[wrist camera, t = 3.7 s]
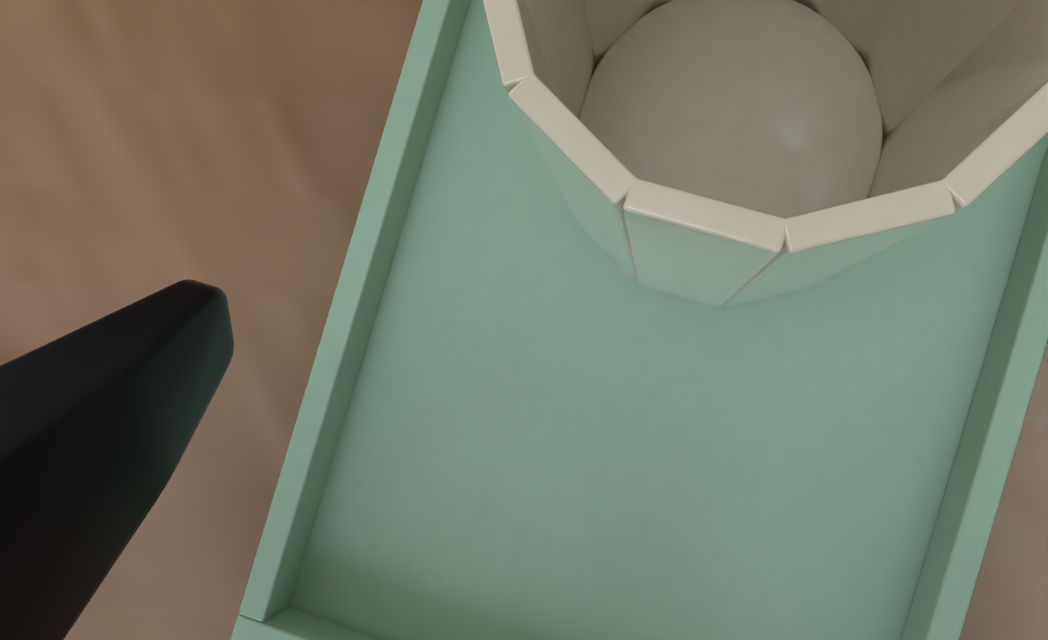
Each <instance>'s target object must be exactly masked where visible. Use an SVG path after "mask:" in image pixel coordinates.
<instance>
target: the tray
mask: <svg viewBox="0 0 1048 640" xmlns="http://www.w3.org/2000/svg"><path fill="white" fill-rule="evenodd" d="M1047 341H1048V133H1047V134H1046V135H1045V136H1044V137H1042V138H1041V139H1040V140H1039V141H1038V142H1037V143H1036V144H1035V145H1034V146H1033V147H1032V148H1031V149H1029V150H1028V151H1027V152H1026V153H1025V154H1024V155H1023V156H1022V157H1021V158H1020V159H1019V160H1018V161H1016V162H1015V163H1014V164H1013V165H1012V166H1011V167H1010V168H1009V169H1008V170H1007V171H1006V172H1005V173H1003V174H1002V175H1001V176H1000V177H999V178H998V179H997V180H996V181H995V182H994V183H993V184H991V185H990V186H989V187H988V188H987V189H986V190H985V191H984V192H983V193H982V194H981V195H980V196H978V197H977V198H976V199H975V200H974V201H973V202H972V203H971V204H970V205H969V206H968V207H966V208H964V209H962V210H960V211H958V212H956V213H954V214H952V215H950V216H949V217H947V218H945V219H943V220H941V221H939V222H937V223H935V224H933V225H931V226H929V227H927V228H925V229H923V230H921V231H919V232H917V233H915V234H913V235H911V236H909V237H907V238H905V239H903V240H901V241H899V242H897V243H895V244H893V245H891V246H889V247H887V248H885V249H883V250H881V251H879V252H877V253H875V254H873V255H871V256H869V257H867V258H865V259H863V260H861V261H859V262H857V263H855V264H853V265H851V266H849V267H847V268H845V269H843V270H841V271H839V272H837V273H835V274H834V275H832V276H830V277H828V278H826V279H824V280H822V281H820V282H818V283H816V284H814V285H812V286H810V287H808V288H806V289H803V290H799V291H794V292H790V293H786V294H782V295H778V296H773V297H769V298H765V299H761V300H756V301H752V302H748V303H744V304H740V305H735V306H731V307H727V308H723V306H722V305H721V306H720V307H718V308H716V307H713V306H709V305H706V304H702V303H699V302H695V301H692V300H688V299H685V298H682V297H678V296H675V295H671V294H668V293H664V292H661V291H657V290H654V289H650V288H647V287H643V286H640V285H639V282H638V281H636V282H634V281H632V280H631V278H630V277H629V276H628V275H627V274H626V273H625V272H624V271H623V270H622V269H621V268H620V267H619V266H618V265H617V264H616V263H615V262H614V261H613V260H612V259H611V258H610V257H609V256H608V255H607V254H606V252H605V251H604V250H603V249H602V248H601V247H600V246H599V245H598V244H597V243H596V242H595V241H594V240H593V239H592V238H591V237H590V236H589V235H588V234H587V233H586V232H585V231H584V230H583V229H582V228H581V226H580V225H579V223H578V222H577V220H576V218H575V216H574V214H573V212H572V211H571V209H570V207H569V205H568V203H567V202H566V200H565V198H564V196H563V194H562V192H561V191H560V189H559V187H558V185H557V183H556V182H555V180H554V178H553V176H552V174H551V172H550V171H549V169H548V167H547V165H546V163H545V162H544V160H543V158H542V156H541V154H540V152H539V151H538V149H537V147H536V145H535V143H534V142H533V140H532V138H531V136H530V134H529V132H528V131H527V129H526V127H525V125H524V123H523V122H522V120H521V118H520V116H519V114H518V112H517V111H516V109H515V107H514V105H513V103H512V102H511V100H510V98H509V96H508V94H507V92H506V90H505V89H504V87H503V85H502V82H501V77H500V73H499V69H498V65H497V60H496V56H495V52H494V48H493V43H492V39H491V35H490V31H489V26H488V22H487V18H486V13H485V9H484V5H483V1H482V0H423V2H422V5H421V8H420V12H419V15H418V18H417V21H416V25H415V28H414V31H413V35H412V38H411V41H410V45H409V48H408V51H407V55H406V58H405V61H404V65H403V68H402V71H401V75H400V78H399V81H398V85H397V88H396V91H395V95H394V98H393V101H392V105H391V108H390V111H389V115H388V118H387V121H386V124H385V128H384V131H383V134H382V138H381V141H380V144H379V148H378V151H377V154H376V158H375V161H374V164H373V168H372V171H371V174H370V178H369V181H368V184H367V188H366V191H365V194H364V198H363V201H362V204H361V208H360V211H359V214H358V217H357V221H356V224H355V227H354V231H353V234H352V237H351V241H350V244H349V247H348V251H347V254H346V257H345V261H344V264H343V267H342V271H341V274H340V277H339V281H338V284H337V287H336V291H335V294H334V297H333V301H332V304H331V307H330V310H329V314H328V317H327V320H326V324H325V327H324V330H323V334H322V337H321V340H320V344H319V347H318V350H317V354H316V357H315V360H314V364H313V367H312V370H311V374H310V377H309V380H308V384H307V387H306V390H305V394H304V397H303V400H302V404H301V407H300V410H299V413H298V417H297V420H296V423H295V427H294V430H293V433H292V437H291V440H290V443H289V447H288V450H287V453H286V457H285V460H284V463H283V467H282V470H281V473H280V477H279V480H278V483H277V487H276V490H275V493H274V497H273V500H272V503H271V506H270V510H269V513H268V516H267V520H266V523H265V526H264V530H263V533H262V536H261V540H260V543H259V546H258V550H257V553H256V556H255V560H254V563H253V566H252V570H251V573H250V576H249V580H248V583H247V586H246V590H245V593H244V596H243V599H242V603H241V606H240V609H239V615H238V616H237V620H236V623H235V626H234V630H233V633H232V636H231V640H959V637H960V633H961V630H962V627H963V623H964V620H965V616H966V613H967V610H968V606H969V603H970V600H971V596H972V593H973V590H974V586H975V583H976V579H977V576H978V573H979V569H980V566H981V563H982V559H983V556H984V553H985V549H986V546H987V542H988V539H989V536H990V532H991V529H992V526H993V522H994V519H995V516H996V512H997V509H998V505H999V502H1000V499H1001V495H1002V492H1003V489H1004V485H1005V482H1006V479H1007V475H1008V472H1009V468H1010V465H1011V462H1012V458H1013V455H1014V452H1015V448H1016V445H1017V442H1018V438H1019V435H1020V431H1021V428H1022V425H1023V421H1024V418H1025V415H1026V411H1027V408H1028V405H1029V401H1030V398H1031V395H1032V391H1033V388H1034V384H1035V381H1036V378H1037V374H1038V371H1039V368H1040V364H1041V361H1042V358H1043V354H1044V351H1045V347H1046V344H1047Z"/></svg>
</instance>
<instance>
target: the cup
mask: <svg viewBox="0 0 1048 640" xmlns="http://www.w3.org/2000/svg"><path fill="white" fill-rule="evenodd" d="M482 1H483V5H484V9H485V13H486V18H487V22H488V26H489V31H490V35H491V39H492V43H493V48H494V52H495V56H496V60H497V65H498V69H499V73H500V77H501V82H502V85H503V87H504V89H505V90H506V92H507V94H508V96H509V98H510V100H511V102H512V103H513V105H514V107H515V109H516V111H517V112H518V114H519V116H520V118H521V120H522V122H523V123H524V125H525V127H526V129H527V131H528V132H529V134H530V136H531V138H532V140H533V142H534V143H535V145H536V147H537V149H538V151H539V152H540V154H541V156H542V158H543V160H544V162H545V163H546V165H547V167H548V169H549V171H550V172H551V174H552V176H553V178H554V180H555V182H556V183H557V185H558V187H559V189H560V191H561V192H562V194H563V196H564V198H565V200H566V202H567V203H568V205H569V207H570V209H571V211H572V212H573V214H574V216H575V218H576V220H577V222H578V223H579V225H580V226H581V228H582V229H583V230H584V231H585V232H586V233H587V234H588V235H589V236H590V237H591V238H592V239H593V240H594V241H595V242H596V243H597V244H598V245H599V246H600V247H601V248H602V249H603V250H604V251H605V252H606V254H607V255H608V256H609V257H610V258H611V259H612V260H613V261H614V262H615V263H616V264H617V265H618V266H619V267H620V268H621V269H622V270H623V271H624V272H625V273H626V274H627V275H628V276H629V277H630V278H631V280H632V281H634V282H636V281H638V282H639V285H640V286H643V287H647V288H650V289H654V290H657V291H661V292H664V293H668V294H671V295H675V296H678V297H682V298H685V299H688V300H692V301H695V302H699V303H702V304H706V305H709V306H713V307H716V308H718V307H720V306H721V305H722V306H723V308H727V307H731V306H735V305H740V304H744V303H748V302H752V301H756V300H761V299H765V298H769V297H773V296H778V295H782V294H786V293H790V292H794V291H799V290H803V289H806V288H808V287H810V286H812V285H814V284H816V283H818V282H820V281H822V280H824V279H826V278H828V277H830V276H832V275H834V274H835V273H837V272H839V271H841V270H843V269H845V268H847V267H849V266H851V265H853V264H855V263H857V262H859V261H861V260H863V259H865V258H867V257H869V256H871V255H873V254H875V253H877V252H879V251H881V250H883V249H885V248H887V247H889V246H891V245H893V244H895V243H897V242H899V241H901V240H903V239H905V238H907V237H909V236H911V235H913V234H915V233H917V232H919V231H921V230H923V229H925V228H927V227H929V226H931V225H933V224H935V223H937V222H939V221H941V220H943V219H945V218H947V217H949V216H950V215H952V214H954V213H956V212H958V211H960V210H962V209H964V208H966V207H968V206H969V205H970V204H971V203H972V202H973V201H974V200H975V199H976V198H977V197H978V196H980V195H981V194H982V193H983V192H984V191H985V190H986V189H987V188H988V187H989V186H990V185H991V184H993V183H994V182H995V181H996V180H997V179H998V178H999V177H1000V176H1001V175H1002V174H1003V173H1005V172H1006V171H1007V170H1008V169H1009V168H1010V167H1011V166H1012V165H1013V164H1014V163H1015V162H1016V161H1018V160H1019V159H1020V158H1021V157H1022V156H1023V155H1024V154H1025V153H1026V152H1027V151H1028V150H1029V149H1031V148H1032V147H1033V146H1034V145H1035V144H1036V143H1037V142H1038V141H1039V140H1040V139H1041V138H1042V137H1044V136H1045V135H1046V134H1047V133H1048V0H482Z"/></svg>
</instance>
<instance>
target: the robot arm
mask: <svg viewBox="0 0 1048 640" xmlns="http://www.w3.org/2000/svg"><path fill="white" fill-rule="evenodd" d="M233 349H234V340H233V333H232V327H231V321H230V314H229V308H228V302H227V297H226V295H225V293H224V292H223V291H222V290H221V289H219V288H217V287H214V286H211V285H208V284H204V283H201V282H198V281H195V280H183V281H179V282H177V283H175V284H173V285H170V286H168V287H166V288H164V289H162V290H160V291H158V292H156V293H154V294H151V295H149V296H147V297H145V298H143V299H141V300H139V301H137V302H135V303H132V304H130V305H128V306H126V307H124V308H122V309H120V310H118V311H116V312H113V313H111V314H109V315H107V316H105V317H103V318H101V319H99V320H97V321H94V322H92V323H90V324H88V325H86V326H84V327H82V328H80V329H78V330H75V331H73V332H71V333H69V334H67V335H65V336H63V337H61V338H59V339H56V340H54V341H52V342H50V343H48V344H46V345H44V346H42V347H39V348H37V349H35V350H33V351H31V352H29V353H27V354H25V355H23V356H20V357H18V358H16V359H14V360H12V361H10V362H8V363H6V364H4V365H1V366H0V640H64V638H65V637H66V635H67V634H68V632H69V631H70V629H71V628H72V626H73V625H74V623H75V622H76V620H77V619H78V617H79V616H80V614H81V613H82V611H83V610H84V608H85V607H86V605H87V604H88V602H89V601H90V599H91V598H92V596H93V595H94V593H95V592H96V590H97V589H98V587H99V586H100V584H101V583H102V581H103V580H104V578H105V577H106V575H107V574H108V572H109V571H110V569H111V568H112V566H113V565H114V563H115V562H116V560H117V559H118V557H119V556H120V554H121V553H122V551H123V550H124V548H125V547H126V545H127V544H128V542H129V541H130V539H131V538H132V536H133V535H134V533H135V532H136V530H137V529H138V527H139V526H140V524H141V523H142V521H143V520H144V518H145V517H146V515H147V514H148V512H149V511H150V509H151V508H152V506H153V505H154V503H155V502H156V500H157V499H158V497H159V496H160V494H161V492H162V491H163V489H164V488H165V486H166V485H167V483H168V481H169V479H170V478H171V476H172V474H173V472H174V470H175V469H176V467H177V465H178V463H179V461H180V459H181V457H182V455H183V453H184V451H185V449H186V448H187V446H188V444H189V442H190V440H191V438H192V436H193V434H194V432H195V430H196V428H197V426H198V424H199V422H200V420H201V418H202V416H203V415H204V413H205V411H206V409H207V407H208V405H209V403H210V401H211V399H212V397H213V395H214V393H215V391H216V389H217V387H218V385H219V383H220V381H221V380H222V378H223V376H224V374H225V372H226V370H227V368H228V366H229V364H230V361H231V358H232V355H233Z"/></svg>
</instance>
